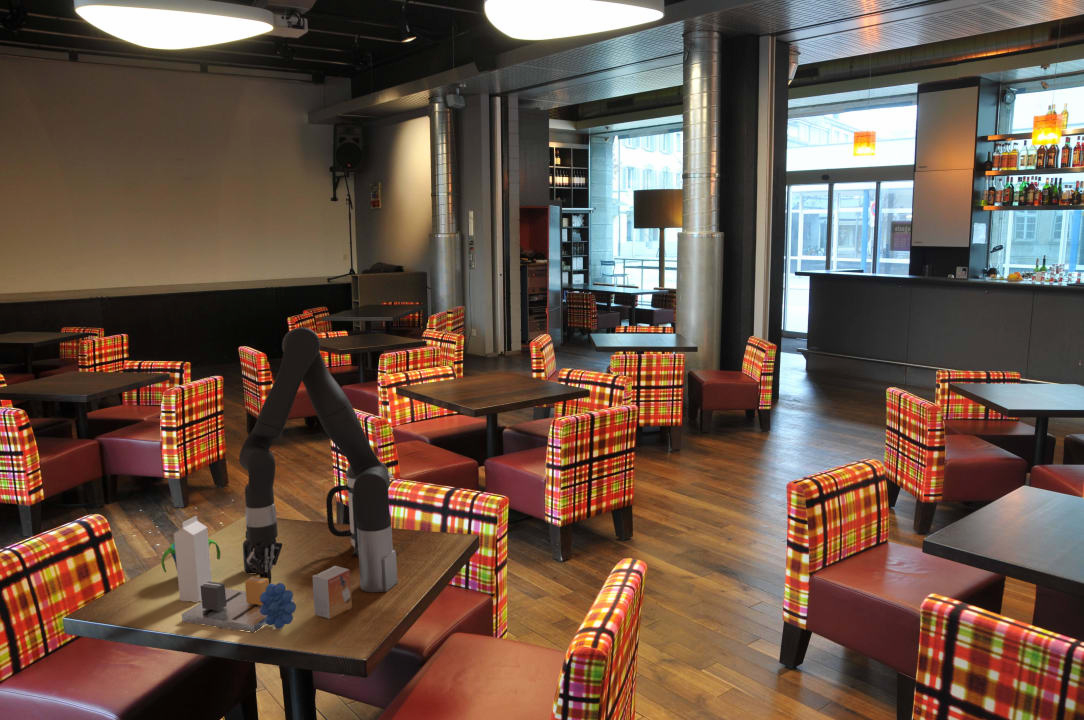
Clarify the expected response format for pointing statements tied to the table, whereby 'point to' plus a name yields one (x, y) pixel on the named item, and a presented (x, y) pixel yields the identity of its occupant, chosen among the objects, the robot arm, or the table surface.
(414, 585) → the table surface
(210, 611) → the console
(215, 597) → the block
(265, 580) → the orange fader
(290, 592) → the grapes
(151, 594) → the table surface
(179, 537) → the milk
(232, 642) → the table surface
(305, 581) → the table surface
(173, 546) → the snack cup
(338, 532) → the coffee press
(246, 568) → the supplement bottle
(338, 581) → the small box
